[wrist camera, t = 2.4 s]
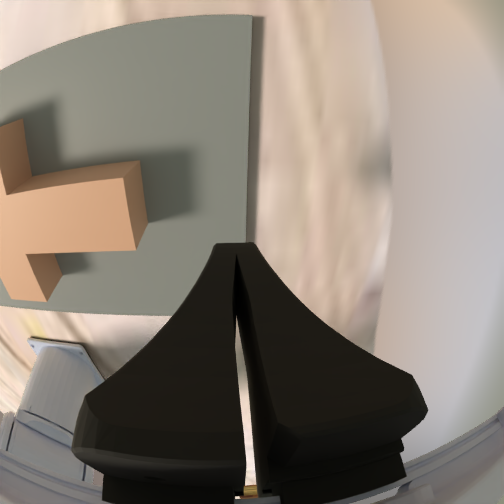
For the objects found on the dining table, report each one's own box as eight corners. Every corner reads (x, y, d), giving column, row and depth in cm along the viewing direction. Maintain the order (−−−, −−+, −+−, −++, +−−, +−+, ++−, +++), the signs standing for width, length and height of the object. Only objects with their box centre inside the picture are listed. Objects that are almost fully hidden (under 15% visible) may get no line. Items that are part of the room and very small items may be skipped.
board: (243, 308, 22) (244, 314, 21) (-38, 296, 19) (-41, 299, 18) (251, 17, 11) (252, 15, 10) (-89, 137, 8) (-93, 139, 7)
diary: (242, 489, 86) (243, 501, 82) (238, 484, 76) (239, 497, 71) (297, 483, 87) (298, 495, 83) (301, 477, 77) (303, 490, 72)
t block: (135, 90, 12) (115, 93, 10) (157, 275, 19) (150, 305, 16) (-14, 132, 11) (-41, 145, 8) (27, 275, 18) (11, 299, 15)
